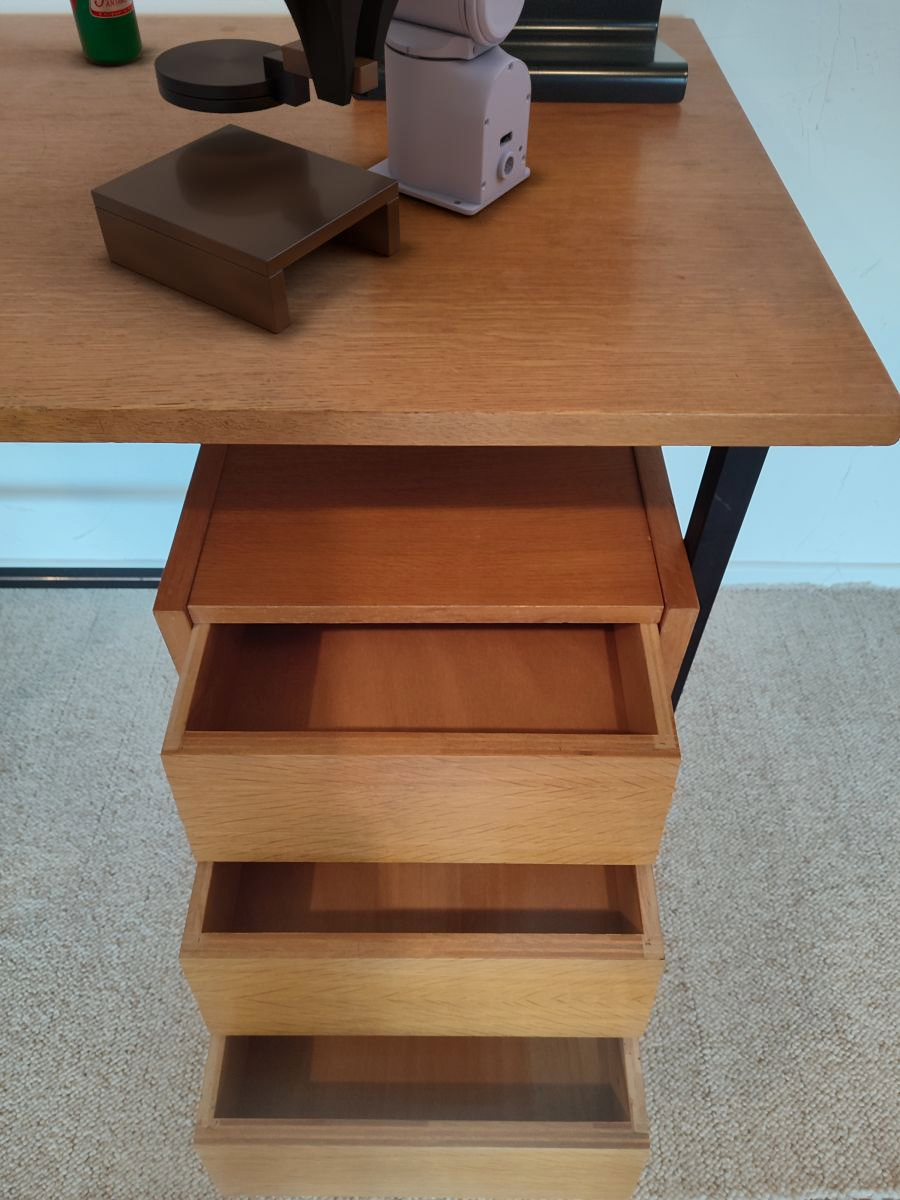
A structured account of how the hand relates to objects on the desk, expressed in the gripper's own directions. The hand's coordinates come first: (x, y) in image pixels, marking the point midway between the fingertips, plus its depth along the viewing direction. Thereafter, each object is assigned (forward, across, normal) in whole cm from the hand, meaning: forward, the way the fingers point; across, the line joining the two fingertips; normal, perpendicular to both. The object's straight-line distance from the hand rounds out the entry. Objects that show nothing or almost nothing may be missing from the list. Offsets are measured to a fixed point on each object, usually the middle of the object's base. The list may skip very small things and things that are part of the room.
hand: (345, 96), depth 55 cm
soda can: (+8, -12, -36) cm, 39 cm away
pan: (+2, 0, -6) cm, 6 cm away
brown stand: (+9, +5, -3) cm, 11 cm away
